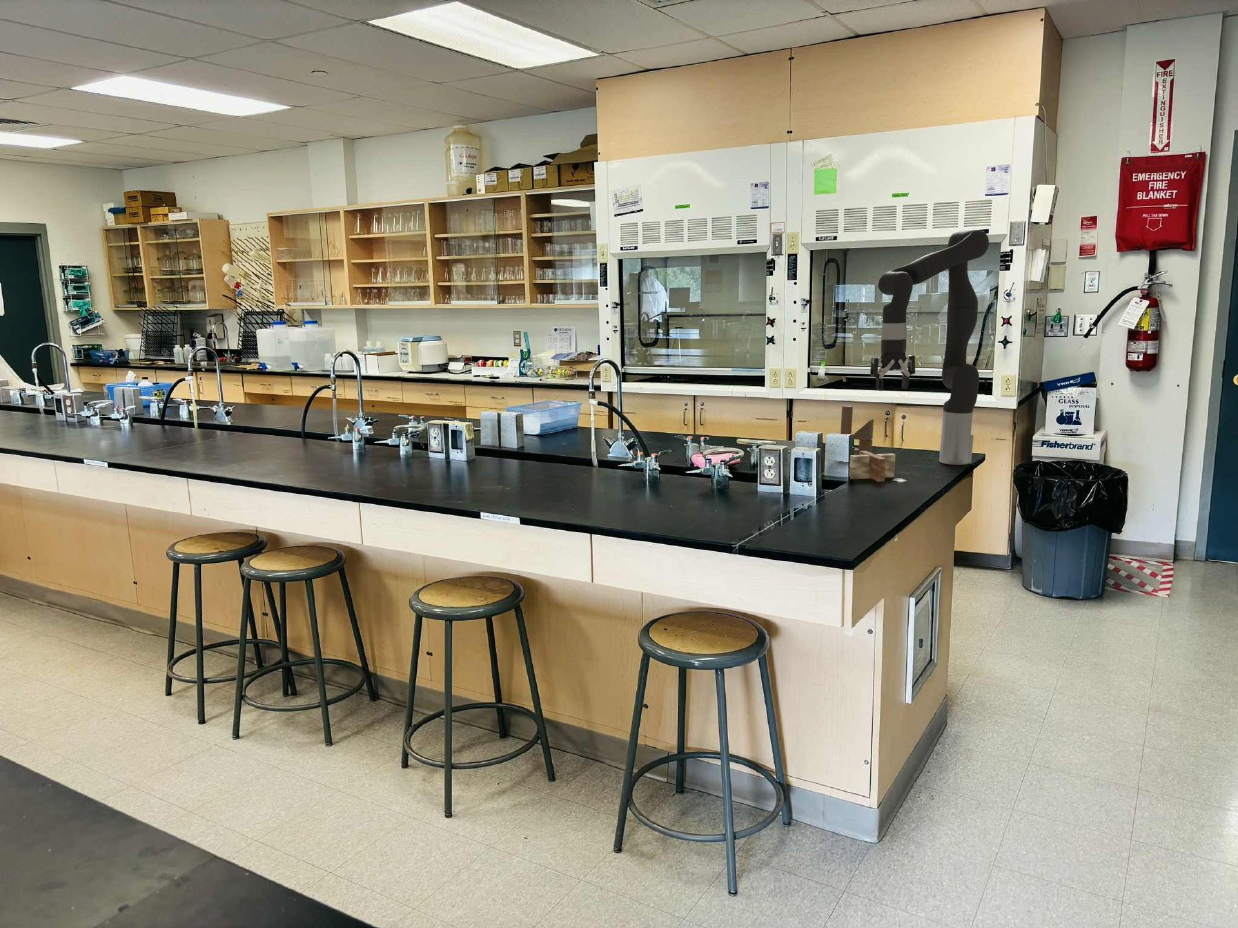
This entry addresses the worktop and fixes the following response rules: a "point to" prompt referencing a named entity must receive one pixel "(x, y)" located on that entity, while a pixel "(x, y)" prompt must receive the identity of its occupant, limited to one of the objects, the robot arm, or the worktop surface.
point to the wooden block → (862, 434)
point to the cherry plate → (876, 466)
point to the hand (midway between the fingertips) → (892, 389)
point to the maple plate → (863, 470)
